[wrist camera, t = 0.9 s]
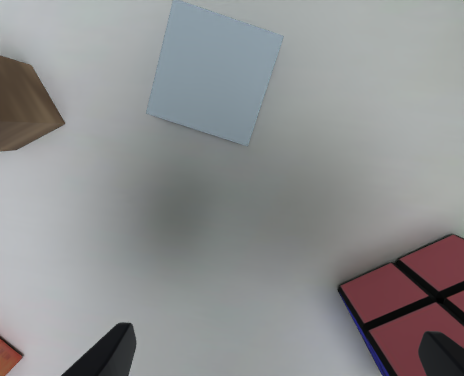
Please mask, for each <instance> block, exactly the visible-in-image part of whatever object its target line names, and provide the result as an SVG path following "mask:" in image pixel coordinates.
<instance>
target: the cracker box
mask: <svg viewBox="0 0 464 376" xmlns="http://www.w3.org/2000/svg"><path fill="white" fill-rule="evenodd" d="M21 359H22V356H21V355H20V354H18V353H17V352H16V351H15V350H13V349H12V348H11V347H10V346H8V345H7V344H6V343H5V342H3V341H2V340H1V339H0V376H5V375H6V374H7V373H8V372H9V371H10V370H11V369H12V368H13V367H14V366H15V365H16V364H17V363H18V362H19V361H20V360H21Z"/></svg>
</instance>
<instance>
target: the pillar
mask: <svg viewBox="0 0 464 376" xmlns="http://www.w3.org/2000/svg"><path fill="white" fill-rule="evenodd" d="M64 124H65V122H64V120H63V119H62V117H61V115H60V114H59V112H58V110H57V108H56V107H55V105H54V103H53V102H52V100H51V98H50V96H49V95H48V93H47V91H46V89H45V88H44V86H43V84H42V83H41V81H40V79H39V77H38V76H37V74H36V72H35V71H34V69H33V67H32V65H29V64H26V63H22V62H19V61H16V60H13V59H10V58H6V57H3V56H0V151H10V150H17V149H19V148H21V147H23V146H25V145H27V144H29V143H31V142H32V141H34V140H36V139H38V138H40V137H42V136H44V135H45V134H47V133H49V132H51V131H53V130H55V129H57V128H59V127H60V126H62V125H64Z"/></svg>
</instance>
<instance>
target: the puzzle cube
mask: <svg viewBox="0 0 464 376" xmlns="http://www.w3.org/2000/svg"><path fill="white" fill-rule="evenodd" d="M338 292H339V294H340V296H341V297H342V299H343V301H344V303H345V305H346V307H347V309H348V311H349V313H350V315H351V317H352V318H353V320H354V322H355V324H356V326H357V328H358V330H359V332H360V334H361V335H362V337H363V339H364V341H365V343H366V345H367V347H368V349H369V351H370V353H371V355H372V357H373V358H374V360H375V362H376V364H377V366H378V368H379V370H380V372H381V374H382V376H426V373H425V371H424V368H423V366H422V363H421V361H420V358H419V355H418V348H419V345H420V342H421V339H422V336H423V334H424V332H426V331H439V332H442V333H444V334H445V335H446V336H448V337H449V338H450V339H452V340H453V341H455V342H456V343H457V344H459V345H460V346H461V347H463V348H464V238H462V237H459V236H457V235H451V236H449V237H447V238H444V239H442V240H440V241H438V242H436V243H433V244H431V245H429V246H427V247H425V248H422V249H420V250H418V251H416V252H414V253H411V254H409V255H407V256H405V257H402V258H400V259H399V260H398V262H397V264H394V263H389V264H387V265H385V266H383V267H380V268H378V269H376V270H374V271H372V272H369V273H367V274H365V275H363V276H361V277H358V278H356V279H354V280H352V281H349V282H347V283H345V284H343V285H341V286H340V287H339V289H338Z"/></svg>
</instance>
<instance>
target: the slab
mask: <svg viewBox="0 0 464 376" xmlns="http://www.w3.org/2000/svg"><path fill="white" fill-rule="evenodd" d="M283 37H284V36H283V35H280V34H277V33H274V32H271V31H268V30H265V29H262V28H259V27H256V26H253V25H251V24H248V23H245V22H242V21H239V20H236V19H233V18H230V17H227V16H224V15H221V14H218V13H215V12H212V11H210V10H207V9H204V8H201V7H198V6H195V5H192V4H189V3H186V2H183V1H180V0H173V3H172V7H171V11H170V15H169V19H168V24H167V28H166V32H165V36H164V40H163V44H162V49H161V53H160V57H159V61H158V65H157V69H156V74H155V78H154V82H153V86H152V90H151V95H150V99H149V103H148V107H147V111H146V114H149V115H152V116H155V117H158V118H161V119H164V120H168V121H171V122H174V123H177V124H180V125H183V126H186V127H189V128H192V129H195V130H198V131H202V132H205V133H208V134H211V135H214V136H217V137H220V138H223V139H226V140H229V141H232V142H236V143H239V144H242V145H245V146H248V144H249V141H250V138H251V135H252V132H253V129H254V126H255V123H256V120H257V117H258V114H259V111H260V107H261V104H262V101H263V98H264V95H265V92H266V89H267V86H268V83H269V80H270V77H271V74H272V71H273V68H274V65H275V62H276V59H277V56H278V52H279V49H280V46H281V43H282V40H283Z"/></svg>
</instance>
